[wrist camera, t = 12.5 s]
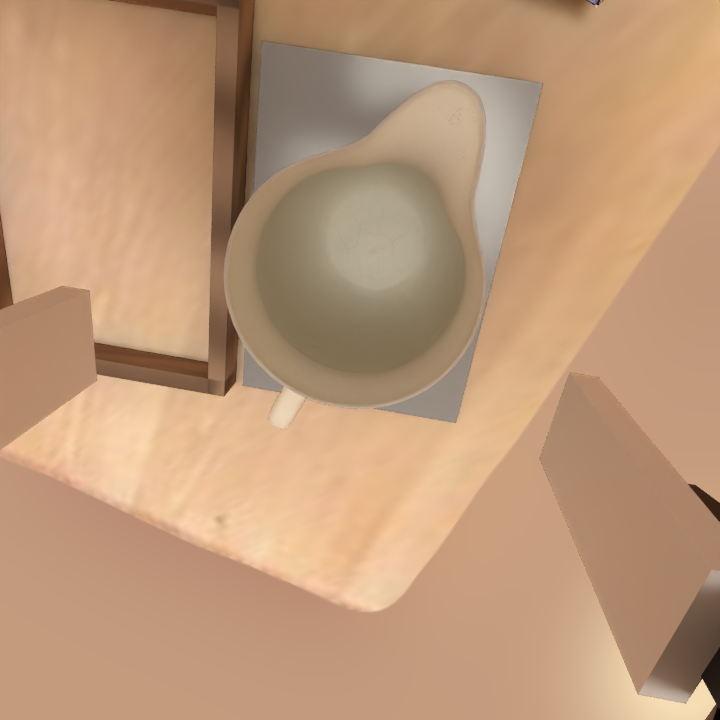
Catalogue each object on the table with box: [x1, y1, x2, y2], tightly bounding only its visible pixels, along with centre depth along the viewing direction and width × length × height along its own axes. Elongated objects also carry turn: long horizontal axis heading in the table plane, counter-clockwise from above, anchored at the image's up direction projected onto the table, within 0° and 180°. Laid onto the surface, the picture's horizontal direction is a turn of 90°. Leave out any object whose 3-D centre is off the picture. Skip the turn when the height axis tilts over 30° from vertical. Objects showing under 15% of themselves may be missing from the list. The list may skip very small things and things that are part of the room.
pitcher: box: [224, 79, 486, 429], centre depth 25 cm, size 11×18×14 cm, turn 151°
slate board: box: [243, 41, 543, 423], centre depth 32 cm, size 22×16×1 cm
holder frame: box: [0, 0, 254, 396], centre depth 31 cm, size 24×18×2 cm
